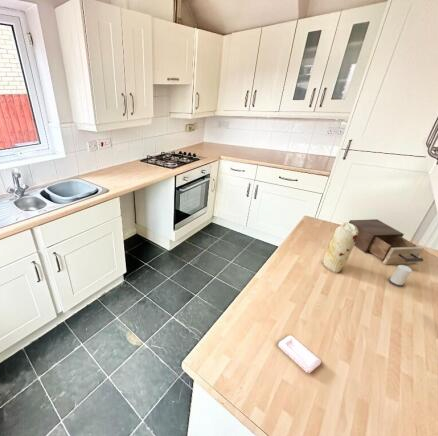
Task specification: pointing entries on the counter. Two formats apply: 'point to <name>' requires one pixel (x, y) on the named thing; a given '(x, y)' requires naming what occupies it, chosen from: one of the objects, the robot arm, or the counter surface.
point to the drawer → (395, 250)
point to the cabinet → (371, 232)
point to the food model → (340, 246)
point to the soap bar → (299, 354)
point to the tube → (400, 275)
